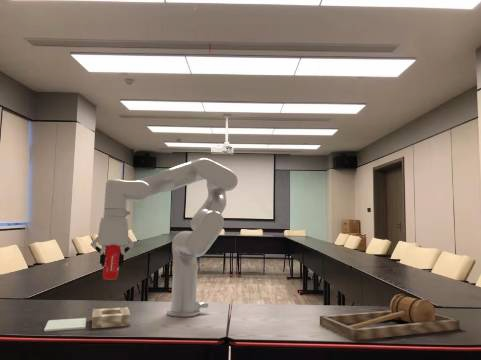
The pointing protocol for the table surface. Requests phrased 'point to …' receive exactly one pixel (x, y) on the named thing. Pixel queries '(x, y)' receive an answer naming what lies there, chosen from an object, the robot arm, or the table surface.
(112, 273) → the beverage can
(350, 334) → the gavel rest frame
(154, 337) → the table surface
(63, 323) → the coaster board
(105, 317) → the can holder
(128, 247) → the robot arm
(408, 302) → the mallet
